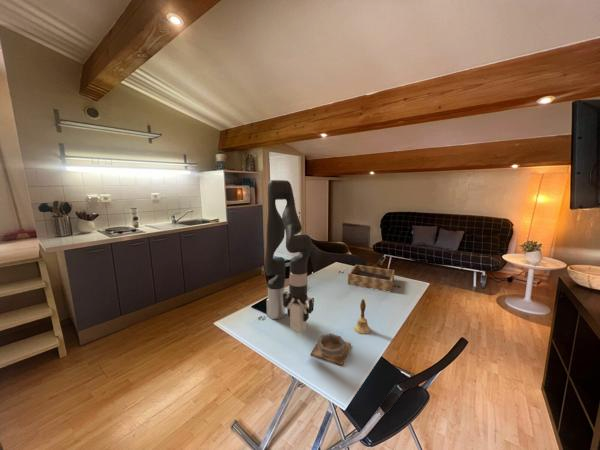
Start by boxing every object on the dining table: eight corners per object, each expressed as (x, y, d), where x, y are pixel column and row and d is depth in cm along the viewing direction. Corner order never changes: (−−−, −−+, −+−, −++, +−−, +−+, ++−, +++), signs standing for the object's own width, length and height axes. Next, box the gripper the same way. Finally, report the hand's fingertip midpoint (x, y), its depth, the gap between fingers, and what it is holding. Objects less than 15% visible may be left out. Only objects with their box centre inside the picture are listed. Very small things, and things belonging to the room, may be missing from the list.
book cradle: (347, 284, 175) (348, 274, 173) (355, 273, 196) (355, 264, 195) (390, 292, 162) (391, 281, 160) (393, 280, 183) (394, 270, 182)
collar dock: (310, 355, 101) (310, 346, 100) (322, 337, 113) (322, 329, 113) (342, 366, 95) (342, 357, 94) (350, 345, 107) (351, 337, 106)
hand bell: (354, 333, 116) (355, 303, 114) (353, 323, 124) (354, 295, 122) (371, 335, 115) (373, 304, 112) (369, 325, 123) (371, 296, 120)
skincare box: (306, 329, 102) (307, 303, 99) (299, 333, 98) (299, 307, 96) (296, 323, 106) (296, 298, 104) (289, 327, 102) (289, 301, 100)
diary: (385, 291, 165) (386, 284, 164) (351, 283, 178) (351, 277, 177) (391, 282, 180) (391, 275, 180) (359, 275, 193) (359, 269, 193)
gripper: (278, 281, 98) (279, 318, 101) (310, 288, 92) (309, 327, 95) (287, 275, 105) (287, 310, 107) (317, 281, 98) (316, 318, 101)
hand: (297, 318), depth 101 cm, fingers closed on skincare box, 7 cm apart
